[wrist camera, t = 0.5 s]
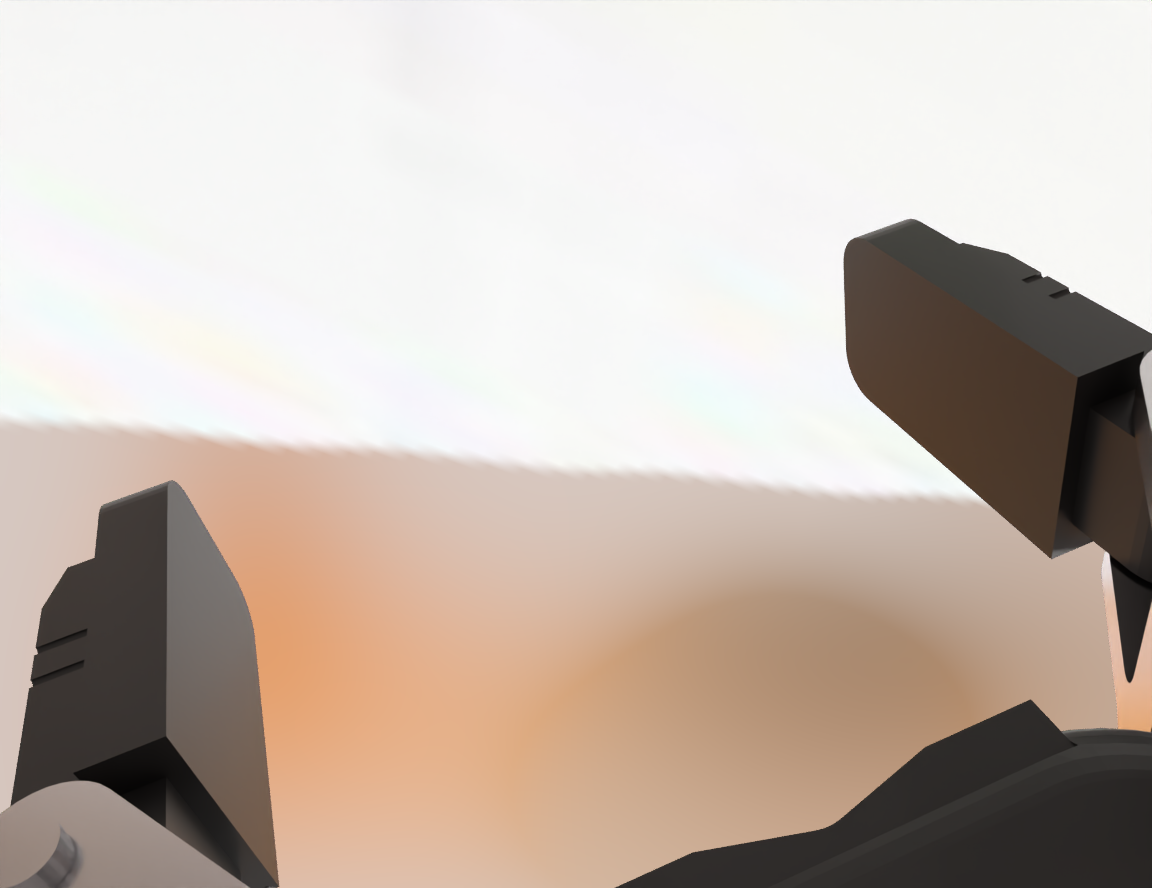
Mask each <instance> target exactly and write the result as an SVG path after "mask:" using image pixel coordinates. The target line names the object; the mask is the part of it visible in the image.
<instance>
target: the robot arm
mask: <svg viewBox="0 0 1152 888" xmlns="http://www.w3.org/2000/svg"><path fill="white" fill-rule="evenodd" d="M844 293H845V326H846V352H847V359H848V363H849V367H850V370H851V373H852V375H853V377H854V380H855V382H856V383H857V385H858V387H859V389H860V390H861V392H862V393H863V394H864V395H865V396H866V397H867V398H868V399H869V400H870V401H871V402H872V403H873V404H874V405H875V406H877V407H878V408H879V409H880V410H881V411H882V412H883V413H885V414H886V415H887V416H888V417H889V418H890V419H891V420H893V421H894V422H895V423H896V424H897V425H898V426H899V427H901V428H902V429H903V430H904V431H905V432H906V433H907V434H909V435H910V436H911V437H912V438H913V439H914V440H915V441H917V442H918V443H919V444H920V445H921V446H922V447H924V448H925V449H926V450H927V451H928V452H929V453H930V454H932V455H933V456H934V457H935V458H936V459H937V460H938V461H940V462H941V463H942V464H943V465H944V466H945V467H946V468H948V469H949V470H950V471H951V472H952V473H953V474H954V475H956V476H957V477H958V478H959V479H960V480H961V481H962V482H964V483H965V484H966V485H967V486H968V487H969V488H970V489H972V490H973V491H974V492H975V493H976V494H977V495H978V496H980V497H981V498H982V499H983V500H984V501H985V502H986V503H988V504H989V505H990V506H991V507H992V508H993V509H995V510H996V511H997V512H998V513H999V514H1000V515H1001V516H1003V517H1004V518H1005V519H1006V520H1007V521H1008V522H1009V523H1011V524H1012V525H1013V526H1014V527H1015V528H1016V529H1017V530H1019V531H1020V532H1021V533H1022V534H1023V535H1024V536H1025V537H1027V538H1028V539H1029V540H1030V541H1031V542H1032V543H1033V544H1035V545H1036V546H1037V547H1038V548H1039V549H1040V550H1041V551H1043V552H1044V553H1045V554H1046V555H1047V556H1048V557H1049V558H1051V559H1053V558H1055V557H1058V556H1060V555H1062V554H1064V553H1067V552H1069V551H1072V550H1074V549H1076V548H1079V547H1081V546H1083V545H1085V544H1088V543H1090V542H1093V541H1094V542H1095V543H1096V544H1098V545H1099V546H1100V547H1101V548H1103V549H1104V550H1105V554H1104V559H1103V564H1102V584H1103V593H1104V602H1105V610H1106V619H1107V627H1108V635H1109V643H1110V652H1111V660H1112V668H1113V677H1114V685H1115V694H1116V702H1117V716H1118V717H1117V718H1118V728H1117V729H1107V728H1096V729H1078V730H1067V731H1060V730H1059V729H1058V728H1057V727H1056V726H1055V725H1054V723H1053V722H1052V721H1051V720H1050V719H1049V718H1048V717H1047V716H1046V715H1045V714H1044V713H1043V712H1042V711H1041V710H1040V709H1039V708H1038V707H1037V706H1036V704H1035V703H1034V702H1033V701H1032V700H1028V701H1026V702H1024V703H1022V704H1020V705H1017V706H1015V707H1013V708H1011V709H1009V710H1006V711H1004V712H1002V713H1000V714H997V715H995V716H993V717H991V718H989V719H986V720H984V721H982V722H980V723H978V724H976V725H973V726H971V727H969V728H967V729H964V730H962V731H960V732H958V733H956V734H954V735H951V736H949V737H947V738H944V739H942V740H940V741H938V742H936V743H934V744H931V745H929V746H927V747H925V748H924V749H923V750H922V751H920V752H919V753H918V754H917V755H915V756H914V757H913V758H912V759H911V760H910V761H908V762H907V763H906V764H905V765H904V766H903V767H901V768H900V769H899V770H898V771H897V772H896V773H894V774H893V775H892V776H891V777H890V778H888V779H887V780H886V781H885V782H884V783H882V784H881V785H880V786H879V787H878V788H877V789H875V790H874V791H873V792H872V793H871V794H870V795H868V796H867V797H866V798H865V799H864V800H863V801H861V802H860V803H859V804H858V805H857V806H855V808H853V809H852V810H851V811H850V812H848V813H847V814H846V815H845V816H844V817H842V818H841V819H840V820H839V821H837V822H836V823H834V824H833V825H831V826H829V827H826V828H824V829H820V830H816V831H811V832H806V833H800V834H794V835H789V836H784V837H777V838H772V839H767V840H761V841H755V842H750V843H744V844H738V845H733V846H727V847H721V848H716V849H711V850H704V851H699V852H693V853H691V854H689V855H686V856H684V857H682V858H680V859H677V860H675V861H673V862H671V863H669V864H666V865H664V866H662V867H660V868H658V869H655V870H653V871H651V872H649V873H647V874H644V875H642V876H640V877H638V878H636V879H634V880H631V881H629V882H627V883H624V884H622V885H620V886H618V887H616V888H1152V334H1151V333H1149V332H1148V331H1146V330H1144V329H1142V328H1140V327H1139V326H1137V325H1135V324H1133V323H1131V322H1130V321H1128V320H1126V319H1124V318H1122V317H1121V316H1119V315H1117V314H1115V313H1113V312H1111V311H1110V310H1108V309H1106V308H1104V307H1102V306H1101V305H1099V304H1097V303H1095V302H1093V301H1092V300H1090V299H1088V298H1086V297H1084V296H1083V295H1081V294H1079V293H1077V292H1073V293H1070V292H1069V288H1068V287H1066V286H1065V285H1063V284H1061V283H1059V282H1057V281H1056V280H1054V279H1052V278H1050V277H1048V276H1047V277H1044V278H1043V277H1042V276H1041V272H1039V271H1037V270H1036V269H1034V268H1032V267H1030V266H1028V265H1027V264H1025V263H1023V262H1021V261H1019V260H1018V259H1016V258H1014V257H1012V256H1010V255H1009V254H1006V253H1002V252H998V251H994V250H990V249H985V248H981V247H977V246H973V245H969V244H965V243H962V244H958V243H956V242H955V241H953V240H951V239H949V238H948V237H946V236H944V235H942V234H941V233H939V232H937V231H935V230H934V229H932V228H930V227H928V226H927V225H925V224H923V223H922V222H920V221H917V220H914V219H907V220H904V221H901V222H898V223H896V224H893V225H890V226H887V227H884V228H882V229H879V230H876V231H873V232H871V233H868V234H865V235H862V236H859V237H857V238H854V239H852V240H851V241H850V242H849V243H848V244H847V246H846V249H845V252H844ZM36 649H37V651H38V654H37V655H35V656H34V661H33V668H32V674H31V681H32V684H33V687H31V688H29V693H28V699H27V707H26V712H25V718H24V725H23V731H22V738H21V743H20V750H19V756H18V762H17V769H16V775H15V781H14V787H13V794H12V800H11V806H10V807H9V808H8V809H6V810H5V811H3V812H2V813H1V814H0V888H277V887H279V880H278V870H277V860H276V849H275V839H274V830H273V819H272V809H271V799H270V788H269V778H268V768H267V758H266V748H265V737H264V727H263V717H262V707H261V697H260V686H259V676H258V666H257V656H256V646H255V635H254V629H253V624H252V620H251V616H250V613H249V610H248V606H247V604H246V601H245V598H244V596H243V593H242V591H241V589H240V587H239V584H238V582H237V581H236V579H235V577H234V575H233V573H232V572H231V570H230V568H229V567H228V565H227V563H226V561H225V560H224V558H223V556H222V555H221V553H220V551H219V549H218V548H217V546H216V544H215V542H214V541H213V539H212V537H211V536H210V534H209V532H208V530H207V529H206V527H205V525H204V524H203V522H202V520H201V518H200V517H199V515H198V514H197V512H196V510H195V508H194V506H193V505H192V503H191V501H190V500H189V498H188V496H187V495H186V493H185V492H184V490H183V489H182V488H181V486H180V485H179V484H178V483H177V482H175V481H173V480H172V481H168V482H165V483H163V484H160V485H157V486H154V487H151V488H149V489H146V490H143V491H140V492H138V493H135V494H132V495H129V496H126V497H123V498H121V499H118V500H115V501H112V502H109V503H107V504H104V505H103V506H101V509H100V512H99V519H98V530H97V539H96V549H95V558H93V559H90V560H88V561H85V562H82V563H80V564H77V565H74V566H71V567H68V568H67V570H66V571H65V573H64V574H63V576H62V578H61V579H60V581H59V583H58V584H57V585H56V587H55V589H54V590H53V592H52V593H51V595H50V597H49V598H48V600H47V602H46V603H45V605H44V606H43V608H42V612H41V618H40V624H39V630H38V636H37V643H36Z"/></svg>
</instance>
